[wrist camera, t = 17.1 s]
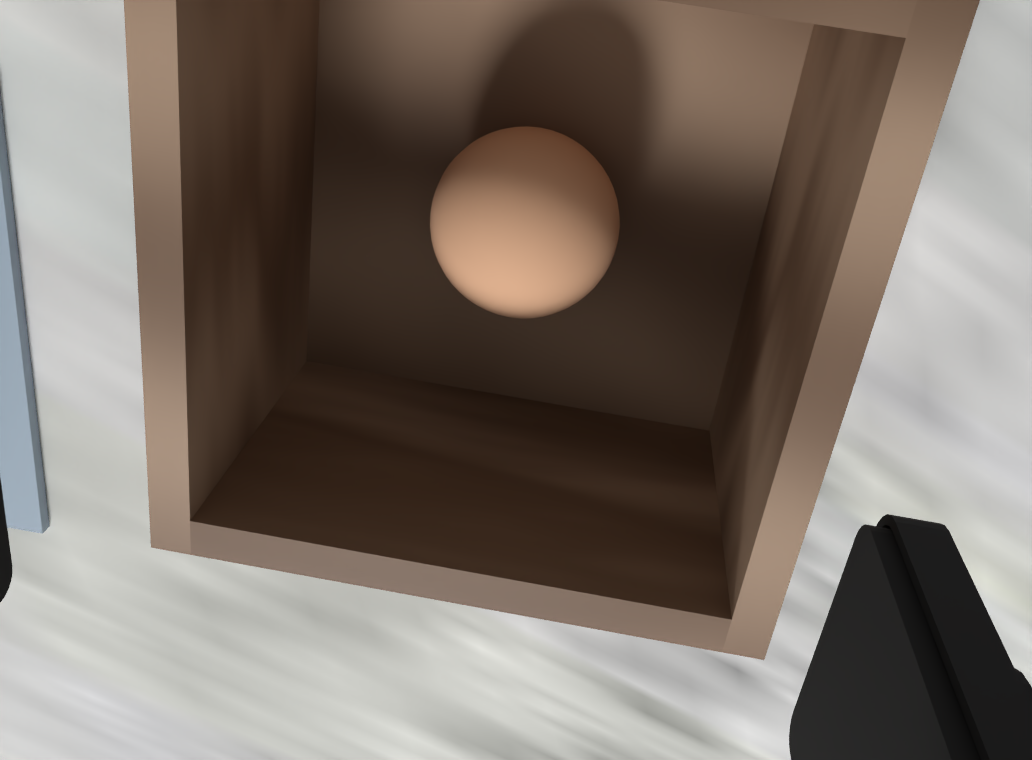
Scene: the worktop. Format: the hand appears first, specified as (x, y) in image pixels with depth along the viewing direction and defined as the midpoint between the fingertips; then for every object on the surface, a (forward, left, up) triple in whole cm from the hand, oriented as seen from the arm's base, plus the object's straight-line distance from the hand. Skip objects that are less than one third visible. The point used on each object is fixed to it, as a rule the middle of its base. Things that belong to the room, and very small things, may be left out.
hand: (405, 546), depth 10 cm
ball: (0, 0, -14) cm, 14 cm away
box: (0, 0, -14) cm, 14 cm away
